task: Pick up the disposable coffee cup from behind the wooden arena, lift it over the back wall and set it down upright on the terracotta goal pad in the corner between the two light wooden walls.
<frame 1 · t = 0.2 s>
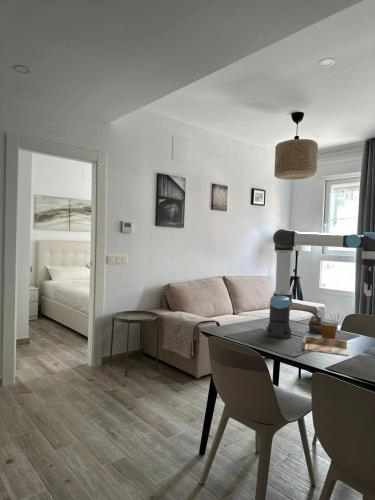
hand: (367, 294, 209), 28 cm above the table, tool pointing down, fingers open, 13 cm apart
disposable coffee cup: (328, 342, 205), on the table
cupcake: (315, 332, 229), on the table
arena: (324, 348, 189), on the table
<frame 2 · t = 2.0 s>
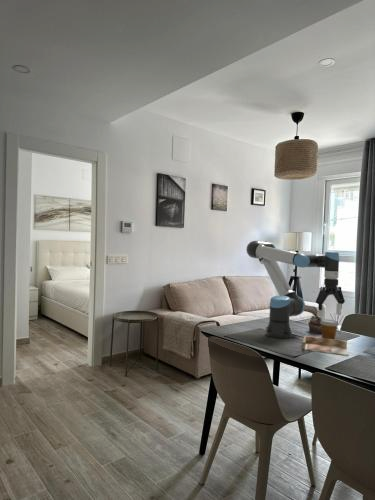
hand: (329, 315, 204), 15 cm above the table, tool pointing down, fingers open, 13 cm apart
nothing on the table moved.
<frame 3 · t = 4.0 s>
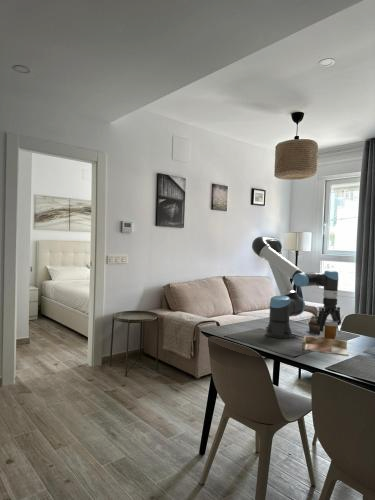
hand: (328, 336, 205), 3 cm above the table, tool pointing down, fingers closed on disposable coffee cup, 9 cm apart
disposable coffee cup: (328, 342, 205), on the table, touching gripper
everything else where it was.
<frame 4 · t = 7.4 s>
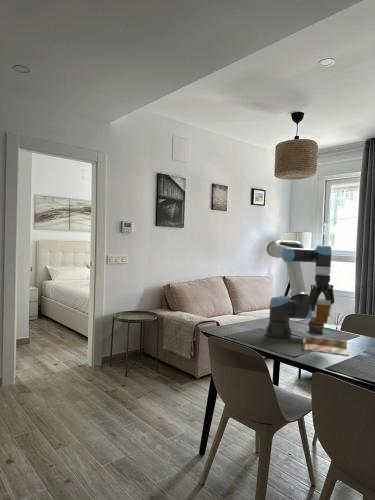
hand: (320, 316, 189), 17 cm above the table, tool pointing down, fingers closed on disposable coffee cup, 9 cm apart
disposable coffee cup: (320, 322, 189), point 14 cm above the table, touching gripper
everything else where it was.
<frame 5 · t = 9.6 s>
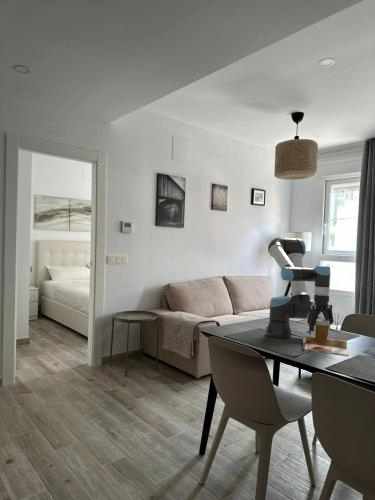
hand: (319, 336, 189), 6 cm above the table, tool pointing down, fingers closed on disposable coffee cup, 9 cm apart
disposable coffee cup: (319, 342, 189), point 3 cm above the table, touching gripper
everything else where it was.
when the fingers open (5 cm above the table, at t = 11.1 s): disposable coffee cup stays where it is, resting on arena.
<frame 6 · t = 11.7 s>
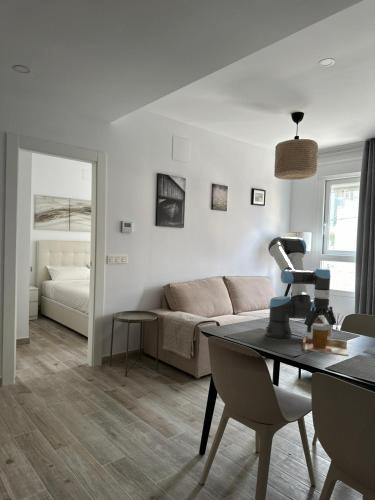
hand: (319, 337, 189), 6 cm above the table, tool pointing down, fingers open, 13 cm apart
disposable coffee cup: (319, 347, 189), point 1 cm above the table, touching arena
everything else where it was.
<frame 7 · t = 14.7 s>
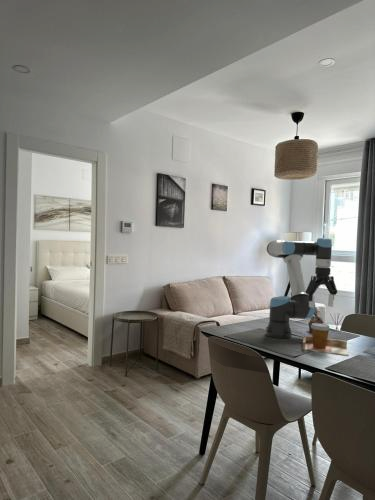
hand: (321, 306, 189), 22 cm above the table, tool pointing down, fingers open, 13 cm apart
nothing on the table moved.
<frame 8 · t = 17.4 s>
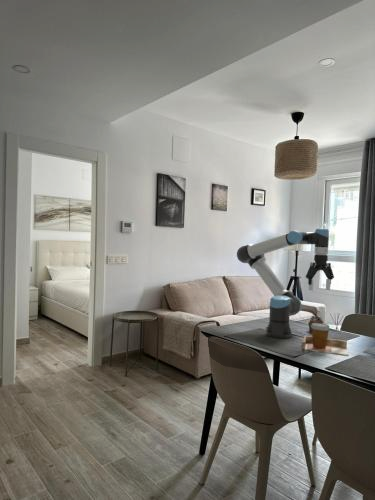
hand: (319, 290, 212), 29 cm above the table, tool pointing down, fingers open, 13 cm apart
nothing on the table moved.
at the end: disposable coffee cup inside the target area (0.2 cm from its centre), point 0.6 cm above the table; disposable coffee cup tilted 0°; the gripper is holding nothing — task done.
